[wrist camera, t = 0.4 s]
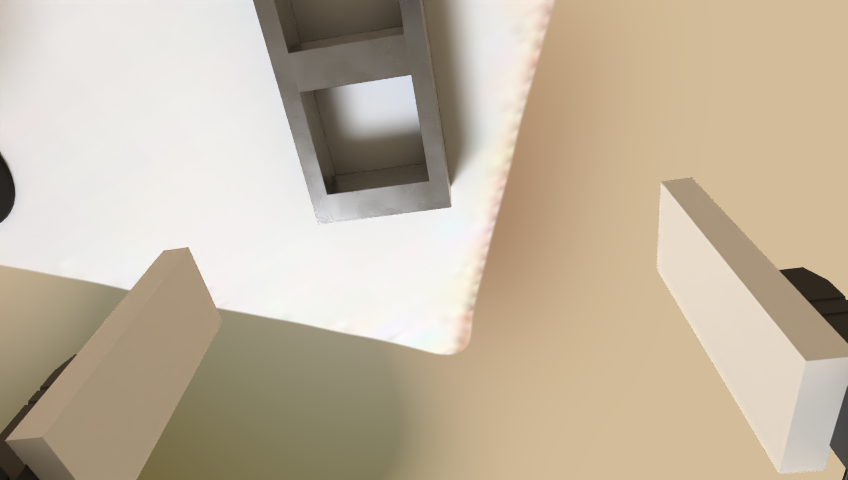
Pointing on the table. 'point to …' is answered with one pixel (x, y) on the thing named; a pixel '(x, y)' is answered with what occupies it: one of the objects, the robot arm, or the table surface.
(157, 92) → the table surface
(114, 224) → the table surface
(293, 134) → the rectangular frame
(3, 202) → the wine glass
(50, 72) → the table surface
